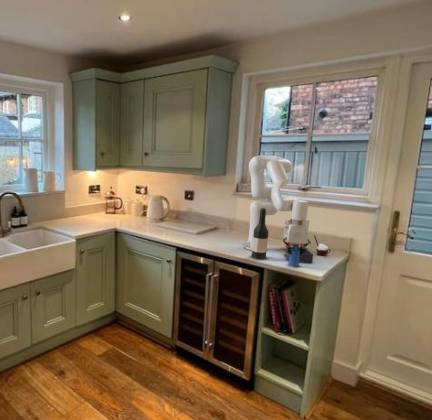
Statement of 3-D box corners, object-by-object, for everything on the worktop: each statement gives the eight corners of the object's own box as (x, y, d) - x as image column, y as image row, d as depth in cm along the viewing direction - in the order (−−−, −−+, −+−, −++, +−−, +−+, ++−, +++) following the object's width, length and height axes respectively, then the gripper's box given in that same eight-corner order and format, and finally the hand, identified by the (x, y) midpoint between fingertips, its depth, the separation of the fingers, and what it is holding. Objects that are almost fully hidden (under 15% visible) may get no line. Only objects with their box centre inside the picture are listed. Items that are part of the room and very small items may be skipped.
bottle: (289, 266, 200) (292, 245, 198) (287, 263, 205) (289, 243, 202) (299, 267, 199) (301, 246, 197) (297, 264, 203) (299, 244, 201)
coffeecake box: (290, 251, 230) (294, 221, 226) (281, 248, 236) (284, 219, 233) (306, 248, 236) (310, 219, 232) (297, 245, 242) (300, 217, 239)
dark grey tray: (290, 261, 210) (291, 252, 209) (285, 254, 223) (285, 246, 222) (312, 262, 207) (313, 254, 206) (305, 256, 220) (306, 248, 219)
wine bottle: (248, 255, 219) (253, 207, 214) (261, 255, 220) (266, 207, 214) (255, 259, 211) (259, 209, 205) (268, 259, 212) (273, 209, 206)
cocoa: (330, 254, 223) (332, 236, 221) (328, 257, 218) (331, 238, 216) (312, 252, 229) (315, 233, 227) (311, 254, 224) (313, 235, 222)
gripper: (283, 222, 196) (279, 254, 199) (317, 224, 192) (313, 257, 195) (280, 220, 203) (277, 251, 206) (313, 222, 199) (309, 253, 202)
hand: (294, 253), depth 200 cm, fingers closed on bottle, 5 cm apart
